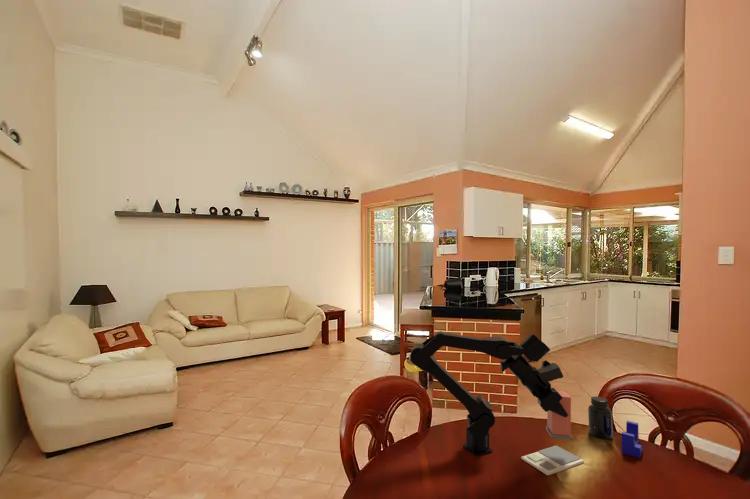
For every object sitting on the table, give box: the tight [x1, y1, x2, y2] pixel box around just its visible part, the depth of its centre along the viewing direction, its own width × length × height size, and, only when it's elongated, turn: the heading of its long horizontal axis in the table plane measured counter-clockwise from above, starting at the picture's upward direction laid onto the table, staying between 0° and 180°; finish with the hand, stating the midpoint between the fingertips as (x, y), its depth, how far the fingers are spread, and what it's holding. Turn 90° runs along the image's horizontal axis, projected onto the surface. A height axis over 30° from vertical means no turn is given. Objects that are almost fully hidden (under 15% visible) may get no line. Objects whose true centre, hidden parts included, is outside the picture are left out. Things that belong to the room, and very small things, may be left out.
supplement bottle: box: [587, 396, 614, 440], centre depth 120 cm, size 7×7×12 cm
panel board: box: [520, 445, 585, 476], centre depth 104 cm, size 15×9×1 cm, turn 115°
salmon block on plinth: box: [545, 390, 573, 441], centre depth 107 cm, size 6×6×12 cm
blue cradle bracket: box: [621, 420, 643, 459], centre depth 112 cm, size 12×4×6 cm, turn 138°
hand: (563, 412), depth 106 cm, fingers closed on salmon block on plinth, 5 cm apart
